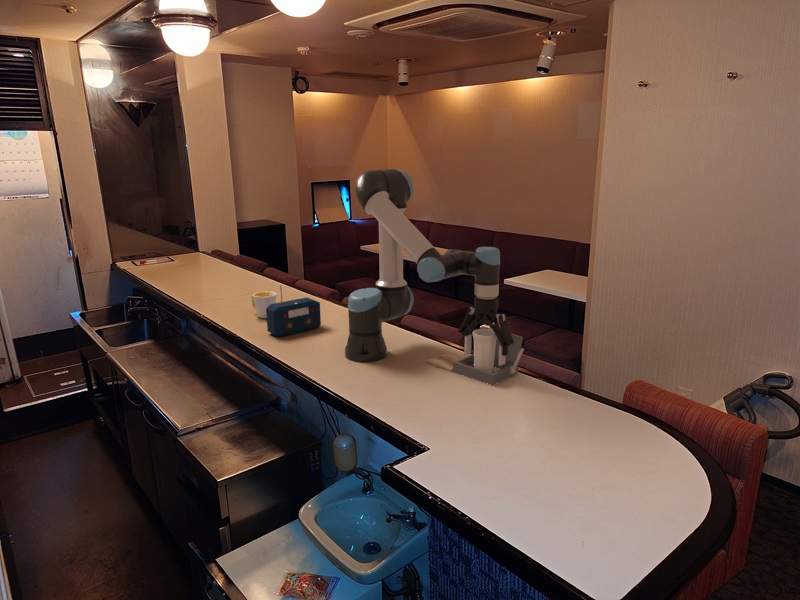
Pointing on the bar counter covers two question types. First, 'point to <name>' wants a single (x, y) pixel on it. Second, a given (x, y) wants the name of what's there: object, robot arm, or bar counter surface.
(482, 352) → the cup
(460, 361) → the grey caddy tray
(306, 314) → the radio
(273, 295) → the mug
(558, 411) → the bar counter surface
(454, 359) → the trivet
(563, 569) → the bar counter surface
